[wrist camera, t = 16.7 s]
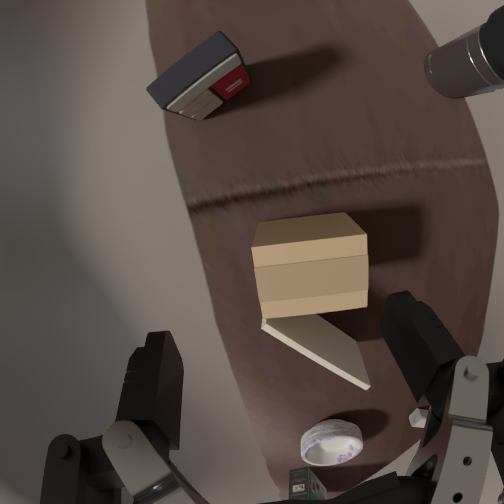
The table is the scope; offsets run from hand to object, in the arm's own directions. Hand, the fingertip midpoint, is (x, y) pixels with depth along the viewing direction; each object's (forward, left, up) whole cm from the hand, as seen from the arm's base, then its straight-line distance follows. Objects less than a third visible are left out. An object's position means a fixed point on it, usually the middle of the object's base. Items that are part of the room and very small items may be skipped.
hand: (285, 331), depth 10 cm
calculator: (+12, -15, -38) cm, 42 cm away
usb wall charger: (-47, +50, -38) cm, 78 cm away
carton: (-5, +8, -38) cm, 39 cm away
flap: (-9, +21, -37) cm, 44 cm away
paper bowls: (-21, +55, -38) cm, 70 cm away
